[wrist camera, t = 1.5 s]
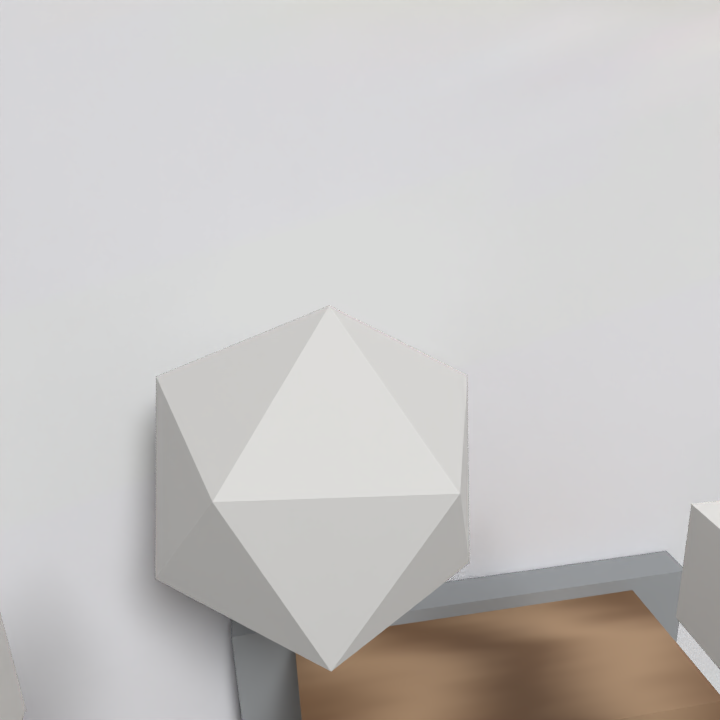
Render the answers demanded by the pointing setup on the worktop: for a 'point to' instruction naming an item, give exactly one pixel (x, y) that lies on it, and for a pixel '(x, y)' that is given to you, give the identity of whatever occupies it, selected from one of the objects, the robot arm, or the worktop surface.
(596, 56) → the worktop surface
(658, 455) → the worktop surface
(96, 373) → the worktop surface
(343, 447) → the die
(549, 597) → the base plate
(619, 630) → the walnut brick
